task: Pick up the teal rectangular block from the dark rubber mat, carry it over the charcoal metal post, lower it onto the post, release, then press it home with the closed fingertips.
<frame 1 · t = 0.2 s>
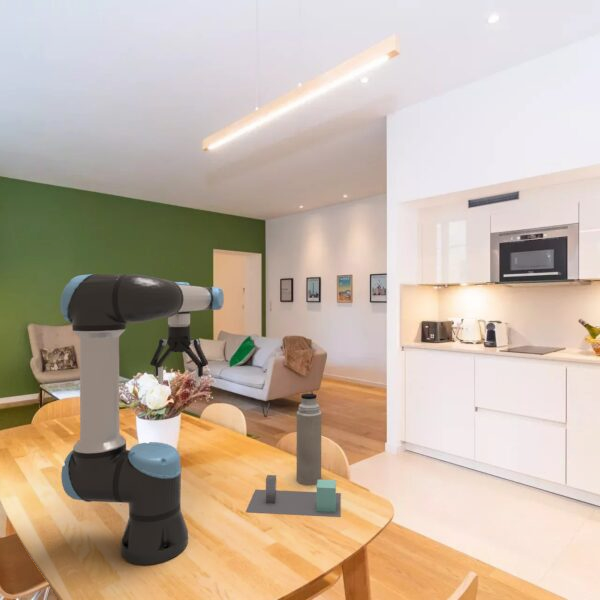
hand: (179, 385, 152), 28 cm above the table, fingers open, 13 cm apart
teal rectangular block: (326, 507, 121), resting on mat
post: (271, 501, 124), resting on mat
thermos bottle: (308, 481, 138), on the table
mat: (295, 503, 123), on the table
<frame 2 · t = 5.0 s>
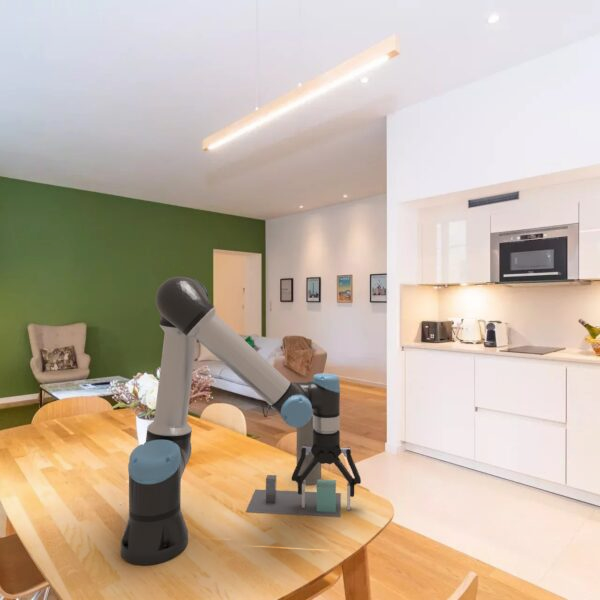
hand: (325, 506, 121), 1 cm above the table, fingers open, 12 cm apart
nothing on the table moved.
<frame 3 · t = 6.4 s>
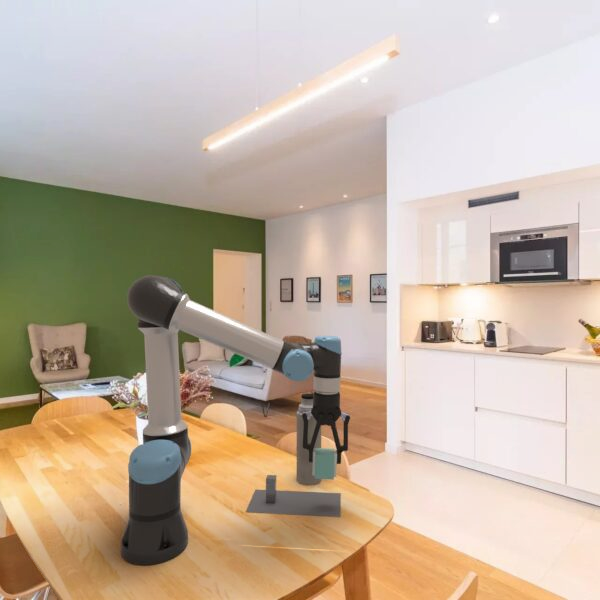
hand: (324, 474, 120), 10 cm above the table, fingers closed on teal rectangular block, 5 cm apart
teal rectangular block: (324, 475, 121), point 9 cm above the table, touching gripper
everything else where it was.
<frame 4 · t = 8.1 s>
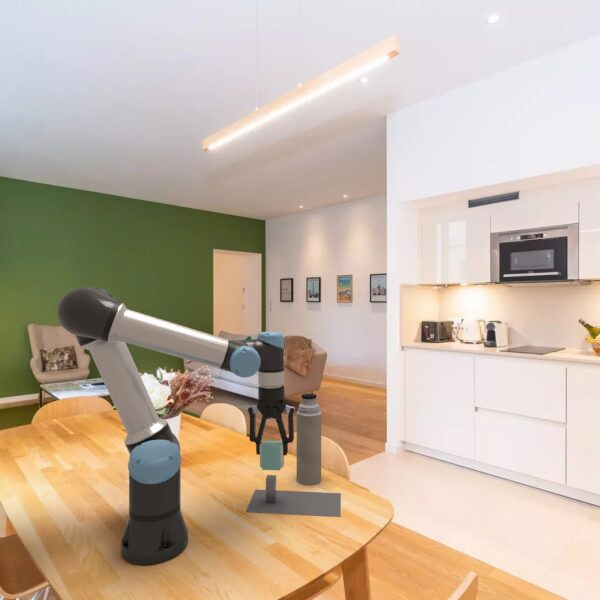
hand: (272, 465, 124), 11 cm above the table, fingers closed on teal rectangular block, 5 cm apart
teal rectangular block: (272, 466, 124), point 10 cm above the table, touching gripper
everything else where it was.
when the fingers open (2 cm above the table, at t = 9.9 s): teal rectangular block stays where it is, resting on post.
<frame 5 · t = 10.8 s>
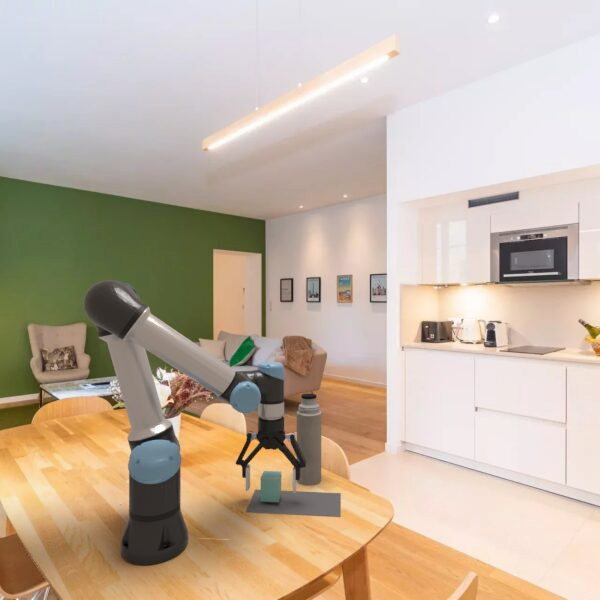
hand: (271, 489, 124), 4 cm above the table, fingers open, 13 cm apart
teal rectangular block: (271, 497, 124), point 1 cm above the table, touching post
everything else where it was.
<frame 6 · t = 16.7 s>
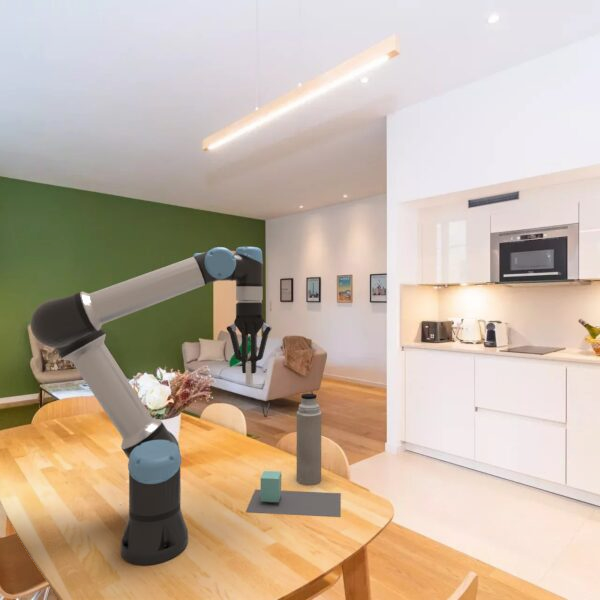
hand: (249, 384, 122), 34 cm above the table, fingers closed
nothing on the table moved.
at the end: teal rectangular block 0.1 cm from the post (horizontally); teal rectangular block point 1.4 cm above the table; the gripper is holding nothing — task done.
